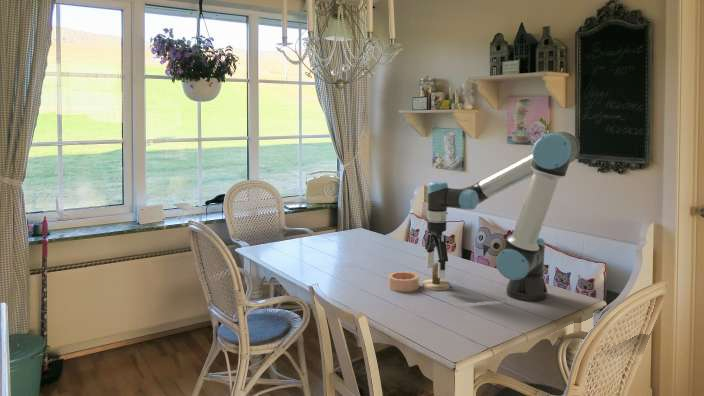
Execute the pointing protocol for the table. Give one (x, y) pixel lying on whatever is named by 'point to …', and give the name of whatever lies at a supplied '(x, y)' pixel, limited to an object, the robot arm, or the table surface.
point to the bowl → (403, 281)
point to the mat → (434, 290)
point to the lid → (435, 281)
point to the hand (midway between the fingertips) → (435, 272)
